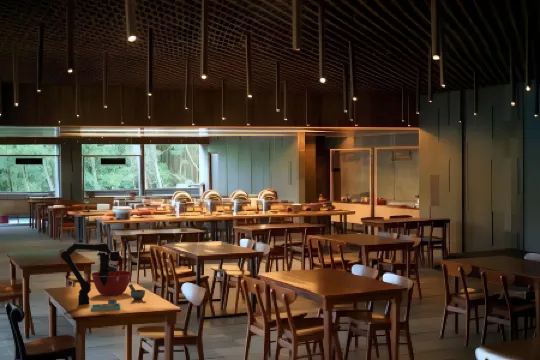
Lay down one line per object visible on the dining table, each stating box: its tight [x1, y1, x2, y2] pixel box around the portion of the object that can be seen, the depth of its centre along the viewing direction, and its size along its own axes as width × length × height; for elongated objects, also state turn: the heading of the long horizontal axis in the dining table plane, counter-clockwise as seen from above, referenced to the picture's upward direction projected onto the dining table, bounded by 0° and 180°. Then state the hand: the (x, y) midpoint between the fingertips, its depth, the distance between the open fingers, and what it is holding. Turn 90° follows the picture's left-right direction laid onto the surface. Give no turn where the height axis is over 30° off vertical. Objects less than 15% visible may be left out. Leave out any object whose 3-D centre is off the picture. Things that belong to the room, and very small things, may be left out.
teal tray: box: [90, 302, 121, 312], centre depth 454 cm, size 18×12×2 cm, turn 102°
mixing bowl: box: [90, 270, 133, 297], centre depth 508 cm, size 28×28×16 cm
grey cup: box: [107, 298, 118, 304], centre depth 464 cm, size 5×5×4 cm
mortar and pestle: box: [128, 283, 146, 302], centre depth 481 cm, size 11×9×12 cm
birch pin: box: [100, 304, 115, 307], centre depth 454 cm, size 5×2×9 cm
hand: (104, 285), depth 476 cm, fingers open, 9 cm apart
